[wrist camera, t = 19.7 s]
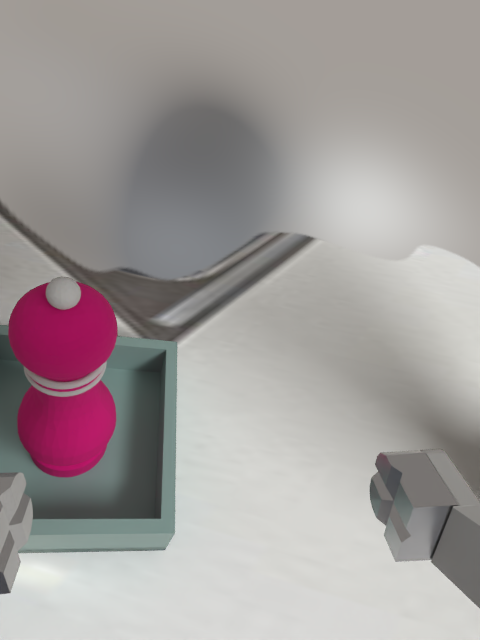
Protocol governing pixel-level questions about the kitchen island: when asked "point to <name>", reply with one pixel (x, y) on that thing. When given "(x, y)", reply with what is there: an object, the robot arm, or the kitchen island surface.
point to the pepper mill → (64, 375)
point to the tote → (104, 458)
